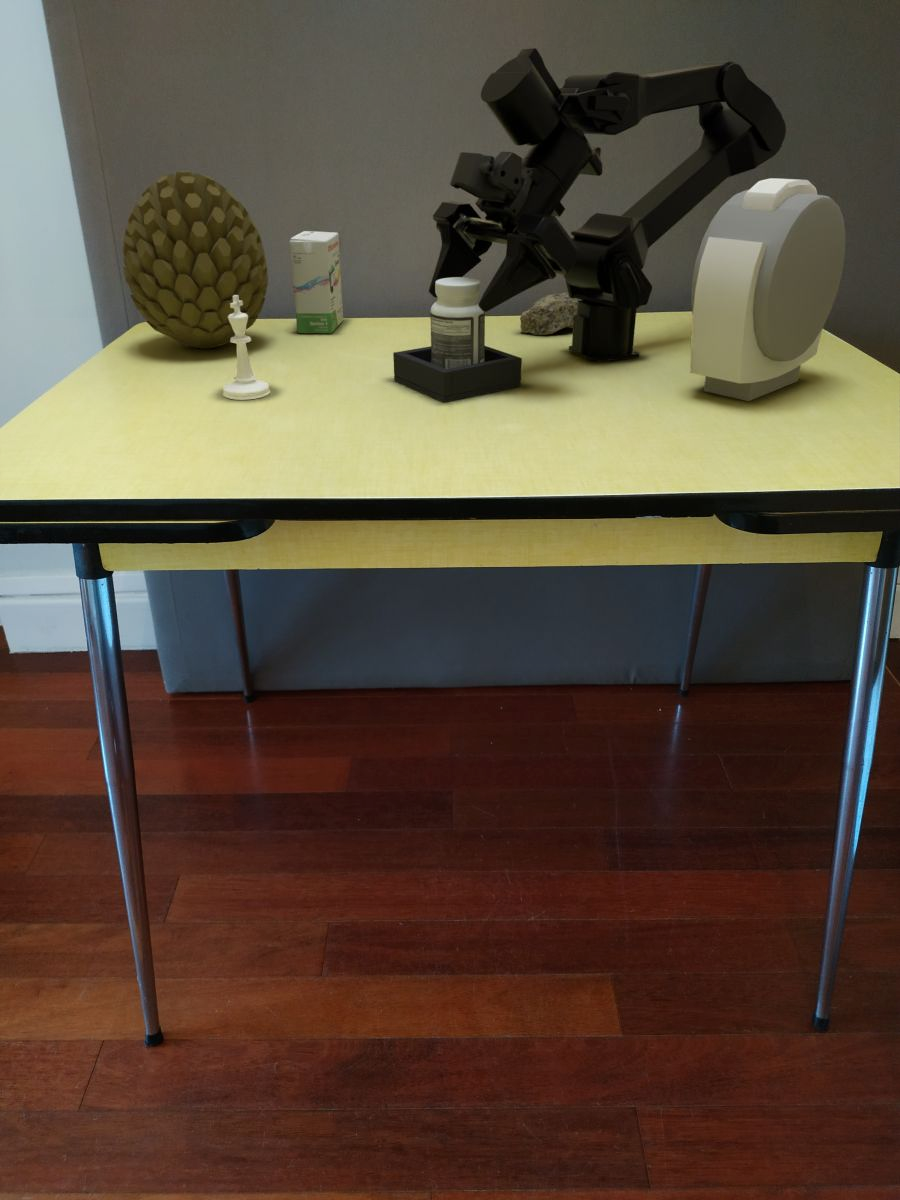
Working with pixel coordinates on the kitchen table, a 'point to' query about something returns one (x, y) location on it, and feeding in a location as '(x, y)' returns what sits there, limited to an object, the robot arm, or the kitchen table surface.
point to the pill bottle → (457, 323)
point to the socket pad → (457, 374)
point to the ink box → (316, 281)
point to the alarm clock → (764, 287)
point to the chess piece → (243, 360)
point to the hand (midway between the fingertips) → (455, 301)
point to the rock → (549, 314)
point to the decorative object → (193, 259)
